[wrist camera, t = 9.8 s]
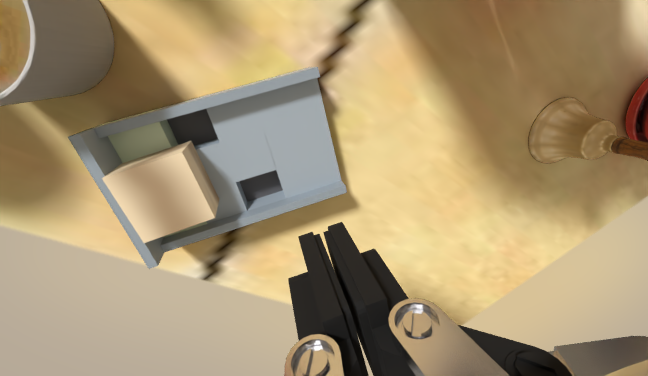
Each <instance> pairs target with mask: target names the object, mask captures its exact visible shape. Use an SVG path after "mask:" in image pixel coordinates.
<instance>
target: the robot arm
mask: <svg viewBox="0 0 648 376" xmlns="http://www.w3.org/2000/svg"><path fill="white" fill-rule="evenodd" d="M328 230H329V231H326V232H324V236H325V239H326V243H327V246H328V250H329V253H330V257H331V260H332V264H333V266H332V264H331V261H330V259H329V257H328V254H327V252H326V249H325V247H324V244H323V242H322V239H321V237H320V234H317V235H313V232H310V233H307V234H304V235H301V236H298V237H299V241H300V244H301V248H302V252H303V255H304V259H305V263H306V266H307V270H308V272H306V273H303V274H300V275H297V276H294V277H291V278H289V279H288V280H289V287H290V293H291V298H292V304H293V310H294V316H295V322H296V327H297V333H298V339H299V341H298V342H297V343H296V344H295V345H294V346H293V347H292V348H291V350H290V352H289V354H288V356H287V358H286V363H285V375H284V376H368V372H367V369H366V365H365V361H364V358H363V354H362V350H361V347H360V343H359V340H360V342H361V345H362V347H363V350H364V352H365V355H366V358H367V360H368V363H369V365H370V368H371V370H372V373H373V375H374V376H648V337H646V336H629V337H621V338H614V339H606V340H599V341H591V342H584V343H577V344H569V345H562V346H555V347H554V351H550V352H546V351H544V350H542V349H539V348H537V347H534V346H530V345H527V344H523V343H520V342H516V341H513V340H509V339H506V338H502V337H498V336H495V335H492V334H488V333H485V332H481V331H478V330H474V329H471V328H467V327H463V326H460V325H457V324H456V323H455V322H454V321H453V320H451V319H450V318H449V317H448V316H447V315H446V314H445V313H444V312H443V311H442V310H441V309H440V308H439V307H438V306H436V305H435V304H434V303H432V302H430V301H427V300H425V299H418V298H413V299H408V297H407V296H406V294H405V293H404V291H403V290H402V288H401V287H400V285H399V284H398V282H397V281H396V279H395V278H394V276H393V275H392V273H391V272H390V270H389V269H388V267H387V266H386V264H385V263H384V261H383V260H382V258H381V257H380V255H379V254H378V253H377V251H376V250H375V249H372V250H369V251H366V252H363V253H360V252H359V250H358V249H357V247H356V245H355V243H354V242H353V240H352V238H351V236H350V235H349V233H348V231H347V230H346V228H345V226H344V224H343V223H342V222H340V223H337V224H334V225H331V226H328ZM333 267H334V269H333ZM357 335H358V336H357ZM358 337H359V340H358Z"/></svg>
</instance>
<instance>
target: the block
mask: <svg viewBox="0 0 648 376" xmlns="http://www.w3.org/2000/svg"><path fill="white" fill-rule="evenodd" d="M102 179H103V181H104V183H105V184H106V186H107V187H108V189H109V190H110V192H111V193H112V195H113V196H114V198H115V200H116V201H117V203H118V204H119V206H120V207H121V209H122V210H123V212H124V213H125V215H126V216H127V218H128V220H129V221H130V223H131V224H132V226H133V227H134V229H135V230H136V232H137V233H138V235H139V237H140V238H141V240H142V241H143V243H146V242H149V241H152V240H154V239H157V238H160V237H163V236H166V235H168V234H171V233H174V232H177V231H180V230H183V229H185V228H188V227H191V226H194V225H197V224H199V223H202V222H205V221H208V220H211V219H214V218H215V216H216V212H217V208H218V204H219V197H218V195H217V193H216V191H215V189H214V187H213V185H212V183H211V180H210V178H209V176H208V174H207V172H206V170H205V168H204V166H203V164H202V162H201V160H200V158H199V156H198V153H197V151H196V149H195V147H194V145H193V143H192V141H189V142H186V143H183V144H180V145H177V146H173V147H170V148H167V149H164V150H161V151H158V152H155V153H152V154H149V155H146V156H143V157H140V158H137V159H134V160H131V161H127V162H124V163H122V164H121V165H119V166H118V167H117V168H115V169H114V170H113V171H111V172H110V173H109V174H107V175H106V176H104V177H103V178H102Z"/></svg>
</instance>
